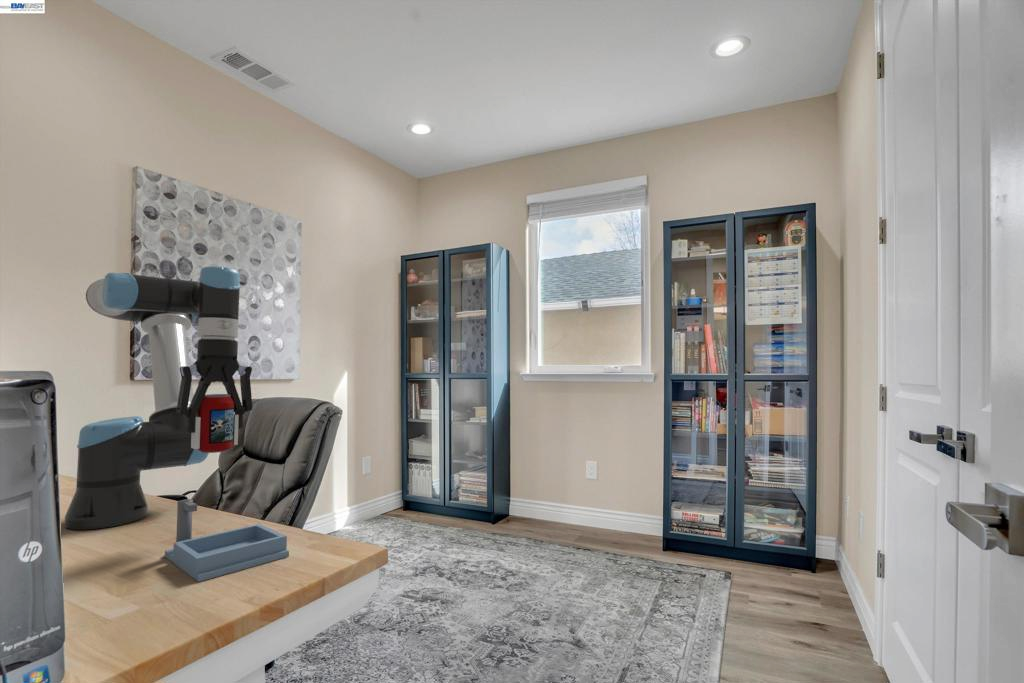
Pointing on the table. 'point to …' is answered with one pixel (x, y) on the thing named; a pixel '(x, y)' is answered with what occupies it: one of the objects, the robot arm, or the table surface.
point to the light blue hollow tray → (222, 547)
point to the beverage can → (216, 423)
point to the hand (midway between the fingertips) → (214, 446)
